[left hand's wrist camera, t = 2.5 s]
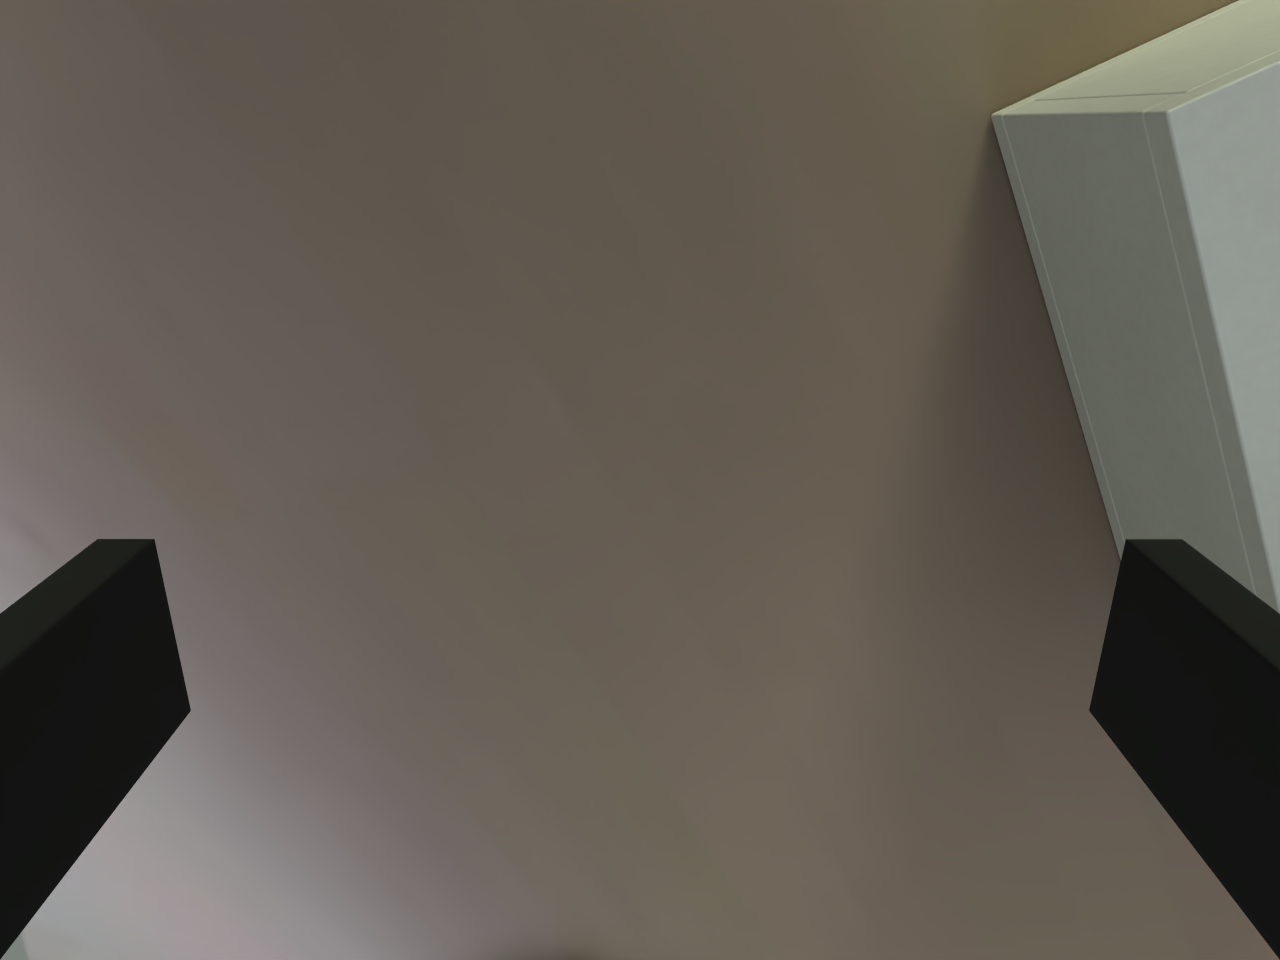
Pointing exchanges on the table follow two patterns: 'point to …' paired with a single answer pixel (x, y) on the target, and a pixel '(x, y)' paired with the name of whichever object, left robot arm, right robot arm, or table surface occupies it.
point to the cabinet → (1168, 278)
